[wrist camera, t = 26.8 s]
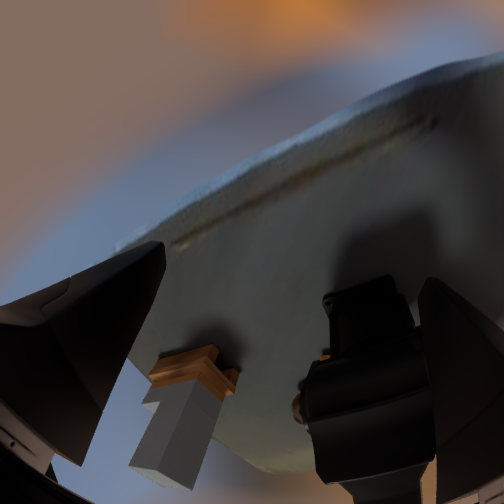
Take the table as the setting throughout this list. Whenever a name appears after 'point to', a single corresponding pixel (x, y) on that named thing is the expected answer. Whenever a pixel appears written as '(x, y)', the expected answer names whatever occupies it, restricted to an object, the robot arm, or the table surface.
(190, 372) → the wooden footstool
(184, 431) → the grey stepped block
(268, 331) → the table surface
